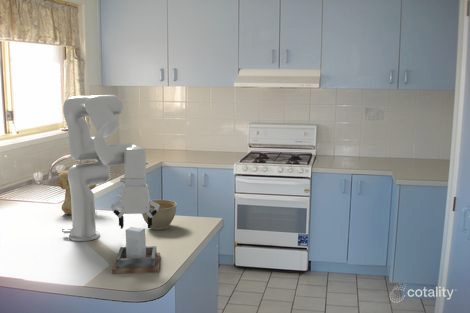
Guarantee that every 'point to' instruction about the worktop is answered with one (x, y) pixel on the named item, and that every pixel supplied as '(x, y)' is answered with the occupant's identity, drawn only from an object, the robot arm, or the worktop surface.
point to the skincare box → (135, 243)
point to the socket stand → (137, 262)
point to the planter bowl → (162, 214)
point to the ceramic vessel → (67, 191)
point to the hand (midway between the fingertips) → (135, 227)
